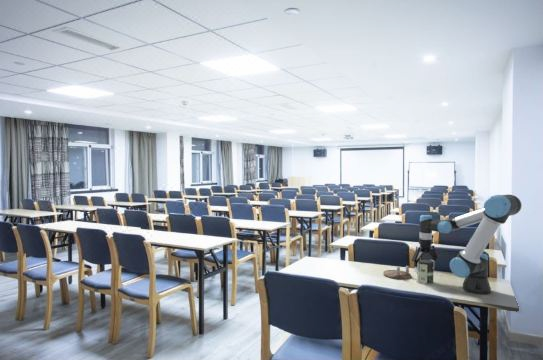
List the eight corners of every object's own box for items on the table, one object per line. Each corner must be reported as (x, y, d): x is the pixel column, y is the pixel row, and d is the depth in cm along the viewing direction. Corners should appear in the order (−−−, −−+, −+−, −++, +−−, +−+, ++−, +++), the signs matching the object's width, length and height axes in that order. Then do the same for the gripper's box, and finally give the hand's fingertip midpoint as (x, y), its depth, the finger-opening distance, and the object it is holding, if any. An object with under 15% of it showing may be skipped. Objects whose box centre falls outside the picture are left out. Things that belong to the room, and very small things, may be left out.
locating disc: (416, 277, 248) (416, 266, 248) (396, 280, 241) (396, 269, 241) (397, 270, 265) (397, 260, 265) (378, 273, 258) (378, 263, 257)
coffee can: (431, 280, 242) (431, 259, 242) (435, 285, 232) (435, 263, 231) (415, 279, 244) (415, 258, 244) (418, 284, 234) (418, 262, 234)
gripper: (434, 236, 246) (433, 267, 247) (406, 238, 236) (405, 271, 237) (444, 238, 239) (443, 270, 240) (415, 241, 229) (414, 274, 230)
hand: (424, 271), depth 238 cm, fingers open, 13 cm apart
